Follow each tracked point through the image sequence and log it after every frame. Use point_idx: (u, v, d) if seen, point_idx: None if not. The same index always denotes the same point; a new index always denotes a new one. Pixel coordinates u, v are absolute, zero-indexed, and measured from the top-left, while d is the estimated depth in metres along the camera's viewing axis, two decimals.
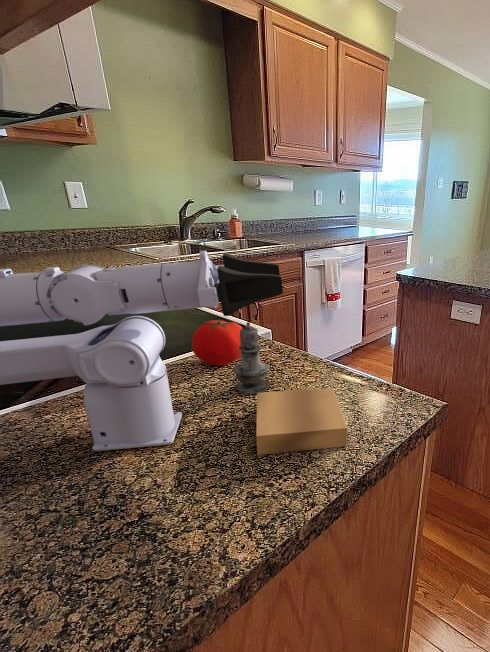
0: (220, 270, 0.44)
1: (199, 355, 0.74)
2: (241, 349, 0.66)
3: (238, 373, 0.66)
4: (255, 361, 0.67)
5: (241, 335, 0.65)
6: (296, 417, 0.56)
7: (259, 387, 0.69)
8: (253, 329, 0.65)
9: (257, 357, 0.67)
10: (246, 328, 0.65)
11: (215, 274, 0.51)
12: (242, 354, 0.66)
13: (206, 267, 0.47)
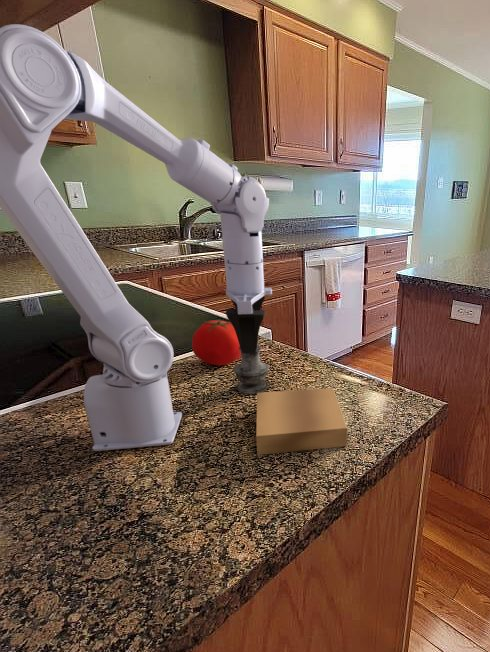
0: (263, 315, 0.59)
1: (199, 355, 0.74)
2: None
3: (238, 373, 0.66)
4: (255, 361, 0.67)
5: None
6: (296, 417, 0.56)
7: (259, 387, 0.69)
8: None
9: (257, 357, 0.67)
10: None
11: None
12: (242, 354, 0.66)
13: (261, 296, 0.62)
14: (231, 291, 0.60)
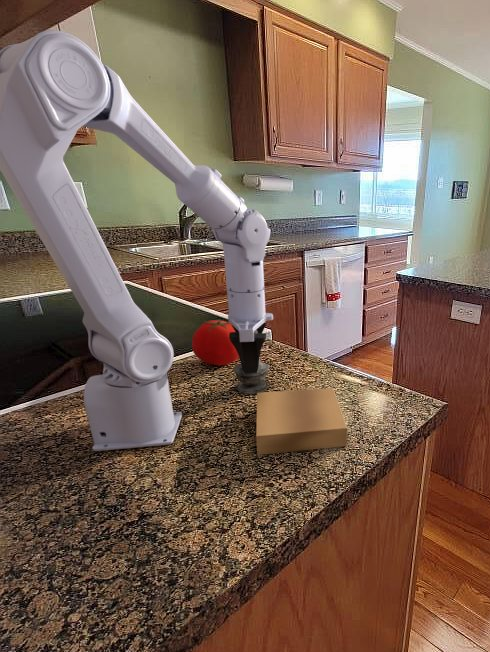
0: (265, 338, 0.62)
1: (199, 355, 0.74)
2: None
3: (238, 373, 0.66)
4: None
5: None
6: (296, 417, 0.56)
7: (259, 387, 0.69)
8: None
9: None
10: None
11: None
12: None
13: (263, 323, 0.63)
14: (233, 318, 0.62)
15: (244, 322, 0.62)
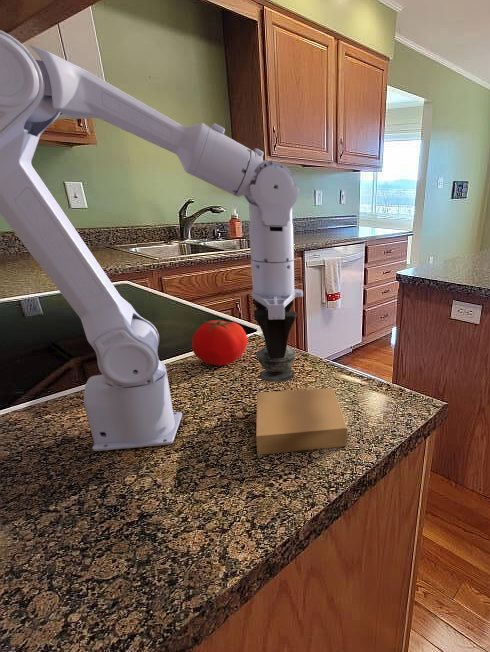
0: (295, 317, 0.54)
1: (199, 355, 0.74)
2: None
3: (262, 358, 0.57)
4: None
5: None
6: (296, 417, 0.56)
7: (286, 375, 0.60)
8: None
9: None
10: None
11: None
12: None
13: (292, 299, 0.55)
14: (258, 293, 0.53)
15: (271, 298, 0.53)
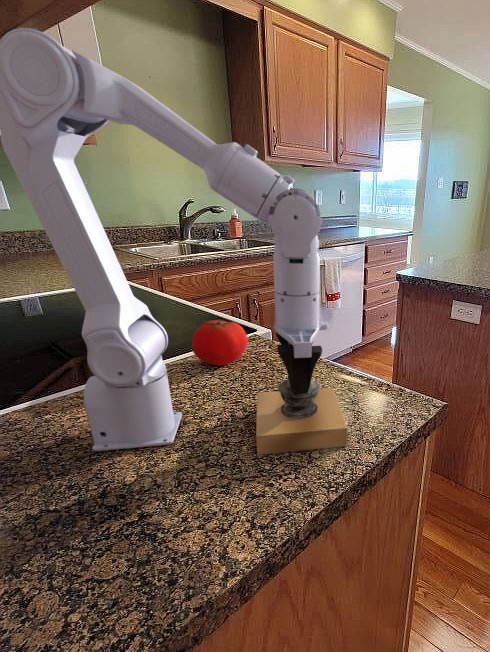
0: (321, 352, 0.51)
1: (199, 355, 0.74)
2: None
3: (285, 394, 0.54)
4: None
5: None
6: None
7: (309, 410, 0.57)
8: None
9: None
10: None
11: None
12: None
13: None
14: (282, 327, 0.50)
15: (296, 332, 0.50)
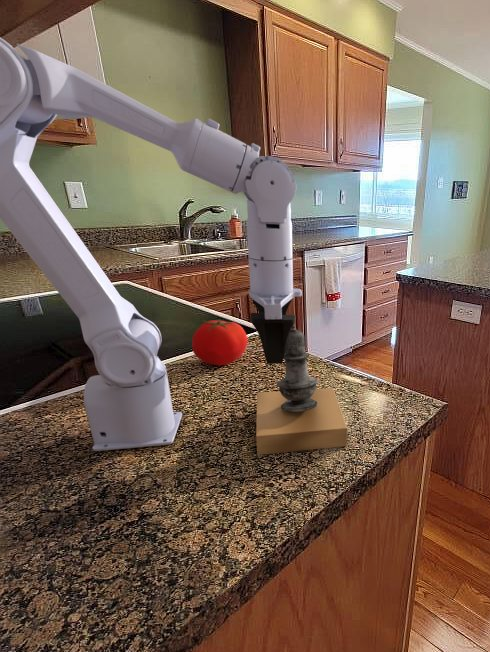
0: (294, 320, 0.51)
1: (199, 355, 0.74)
2: (286, 357, 0.55)
3: (283, 386, 0.54)
4: (302, 371, 0.55)
5: None
6: (296, 417, 0.56)
7: (308, 404, 0.56)
8: (299, 332, 0.55)
9: (305, 366, 0.56)
10: (291, 331, 0.55)
11: None
12: (287, 363, 0.55)
13: (290, 299, 0.53)
14: (256, 292, 0.52)
15: (269, 297, 0.52)
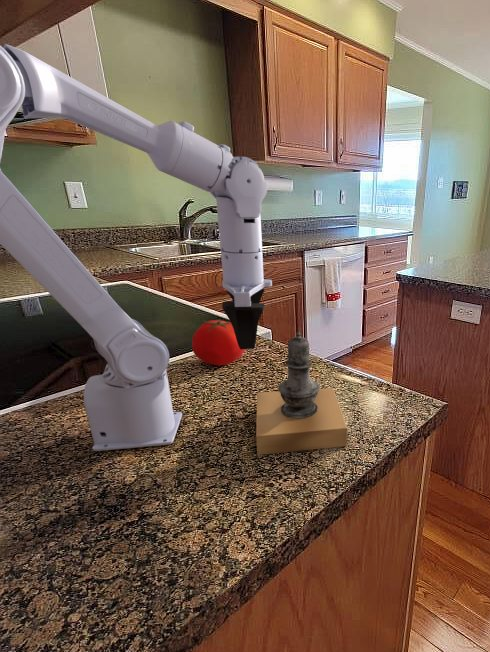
0: (263, 308, 0.55)
1: (199, 355, 0.74)
2: (289, 365, 0.54)
3: (285, 394, 0.54)
4: (305, 379, 0.55)
5: (290, 348, 0.53)
6: None
7: (309, 409, 0.57)
8: (304, 340, 0.53)
9: (308, 374, 0.55)
10: (296, 339, 0.53)
11: None
12: (290, 371, 0.54)
13: (261, 288, 0.57)
14: (228, 282, 0.56)
15: (240, 287, 0.56)
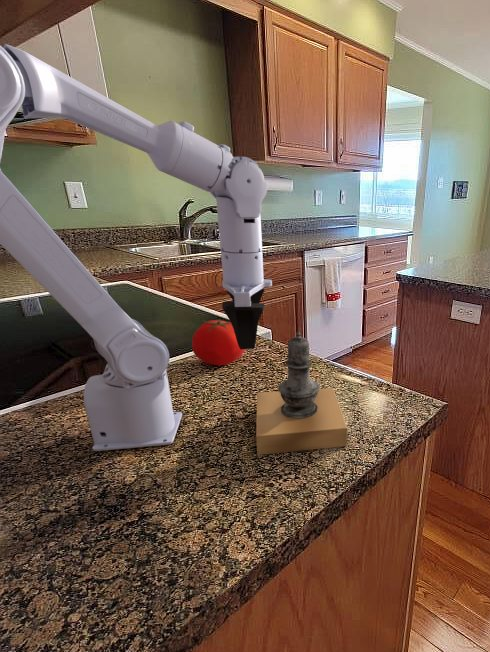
0: (263, 308, 0.55)
1: (199, 355, 0.74)
2: (289, 365, 0.54)
3: (285, 394, 0.54)
4: (305, 379, 0.55)
5: (290, 348, 0.53)
6: None
7: (309, 409, 0.57)
8: (304, 340, 0.53)
9: (308, 374, 0.55)
10: (296, 339, 0.53)
11: None
12: (290, 371, 0.54)
13: (261, 288, 0.57)
14: (228, 282, 0.56)
15: (240, 287, 0.56)
